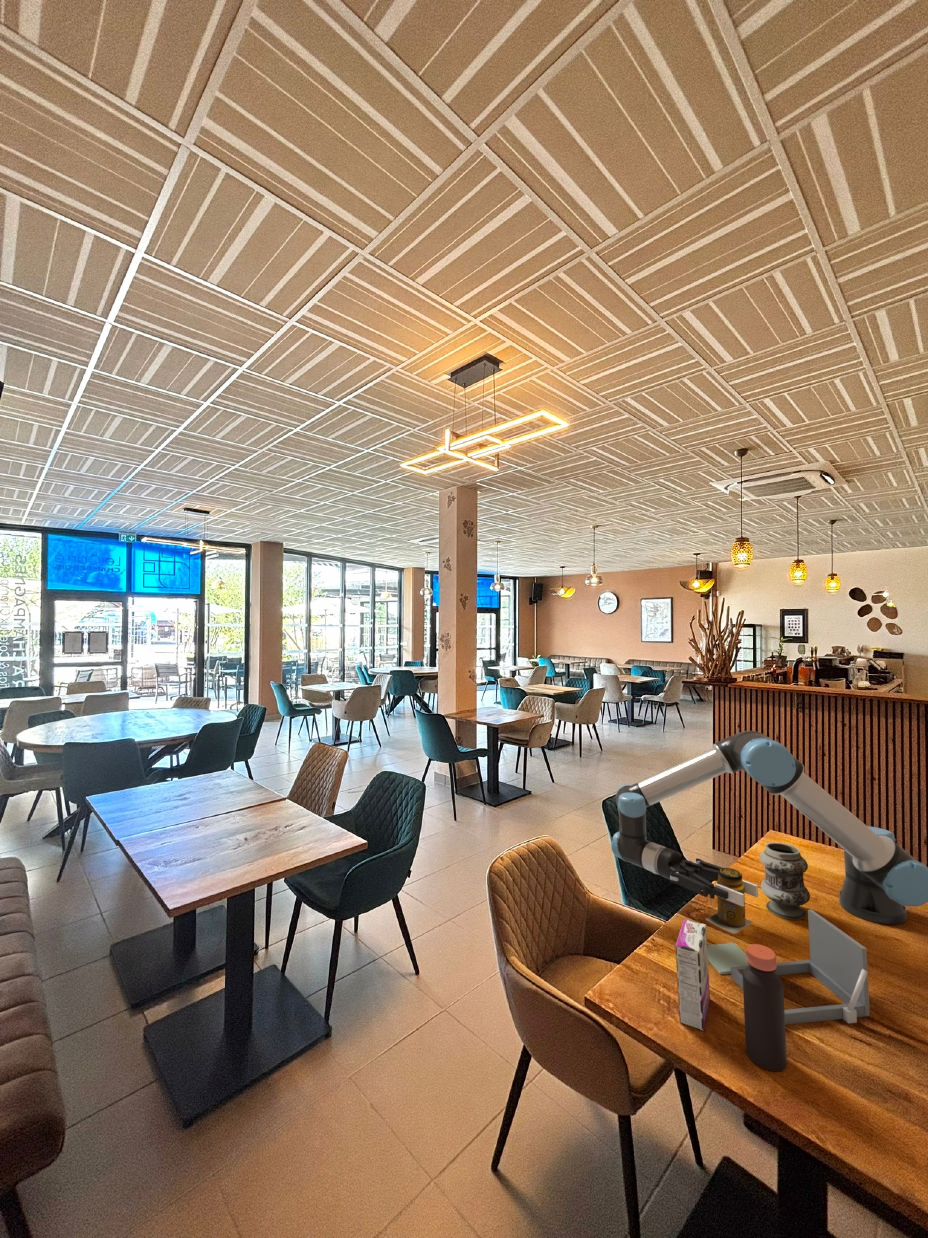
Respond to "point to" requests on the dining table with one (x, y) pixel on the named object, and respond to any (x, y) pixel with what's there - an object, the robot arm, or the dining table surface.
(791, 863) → the apothecary jar
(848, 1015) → the grey holder frame
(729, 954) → the pad
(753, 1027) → the bottle
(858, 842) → the robot arm
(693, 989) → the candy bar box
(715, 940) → the dining table surface
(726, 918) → the condiment
